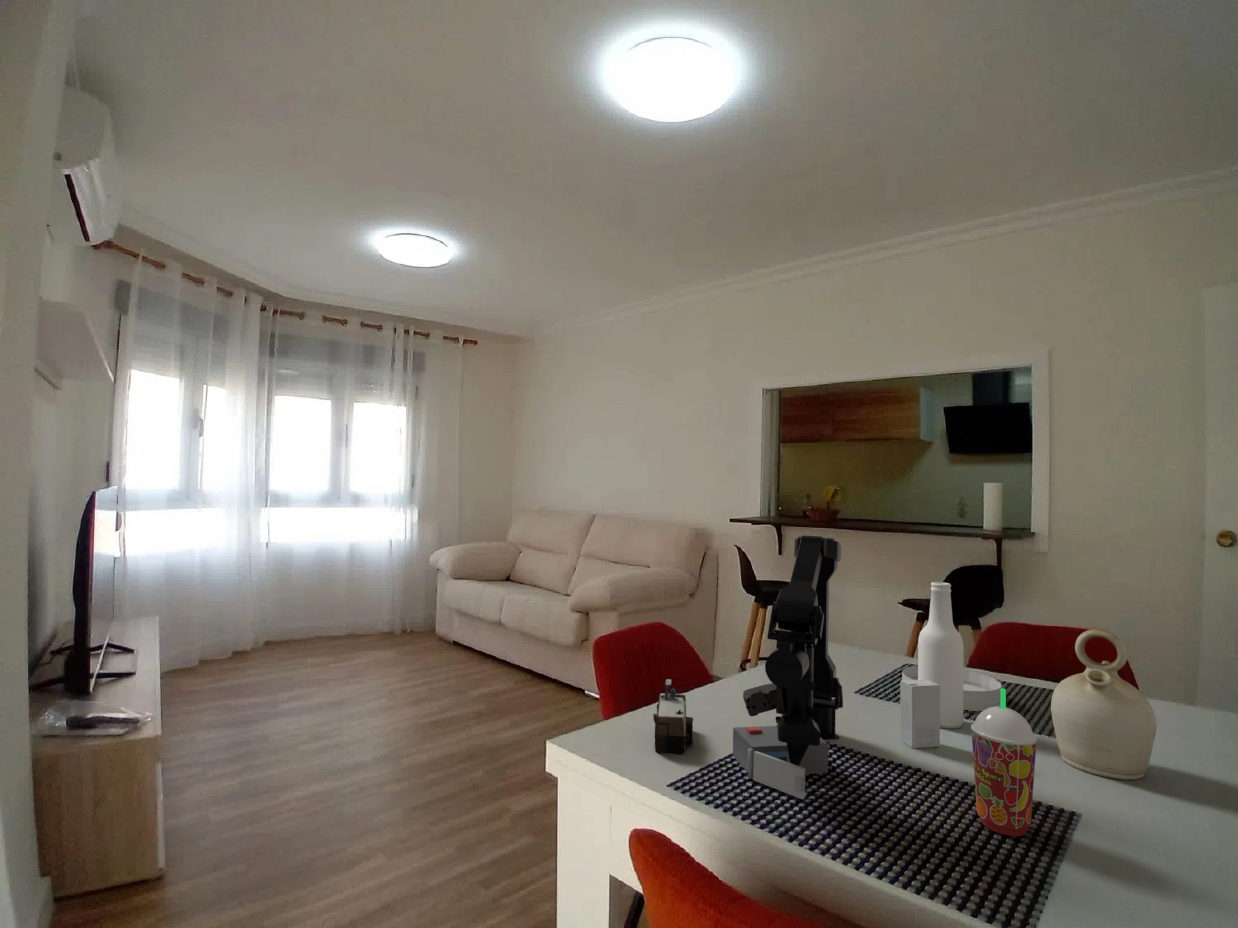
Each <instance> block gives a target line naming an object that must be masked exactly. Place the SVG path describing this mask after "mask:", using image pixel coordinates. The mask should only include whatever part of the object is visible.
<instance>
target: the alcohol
mask: <svg viewBox="0 0 1238 928" xmlns="http://www.w3.org/2000/svg"><path fill="white" fill-rule="evenodd" d="M930 586H931V587H930V591H931V593H930V602H929V612H928V613H929V614H928V621H927V624H926V625H925V626H923V628H922V629H921V630H920V632H919V635H918V639H917V641H918V644H917V646H918V648H917V651H918V652H917V655H918V656H917V666H918V680H929V681H931V682H934V683H936V684H938V685H939V686H940V728H941V729H946V730H947V729H949V730H950V729H951V730H954V729H959V728H960V727H961V726H962V725H963V723H964V711H963V670H964V656H965V655H964V641H963V637H962V635H961V634H960V633H959V631H958V629H956V627H955V625H954V620H953V607H952V596H951V593H952V589H951V587H952V584H951V583H949V582H941V581H932V582H931V583H930Z"/></svg>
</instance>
